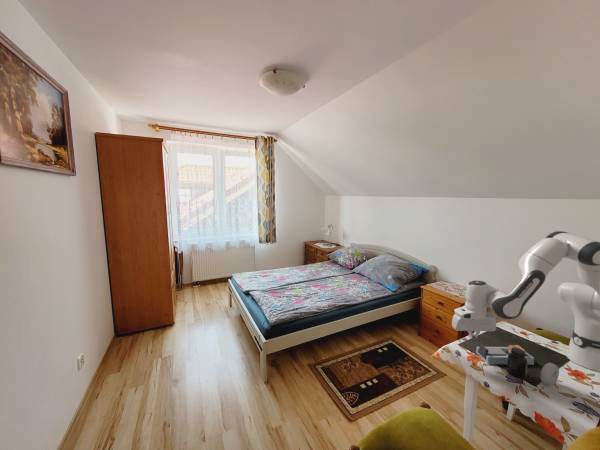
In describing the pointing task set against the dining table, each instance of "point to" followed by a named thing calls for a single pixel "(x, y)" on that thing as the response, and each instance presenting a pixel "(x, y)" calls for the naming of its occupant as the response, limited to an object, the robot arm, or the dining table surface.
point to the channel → (503, 357)
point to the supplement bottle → (517, 363)
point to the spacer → (515, 347)
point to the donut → (549, 374)
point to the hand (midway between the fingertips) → (472, 337)
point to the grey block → (490, 351)
